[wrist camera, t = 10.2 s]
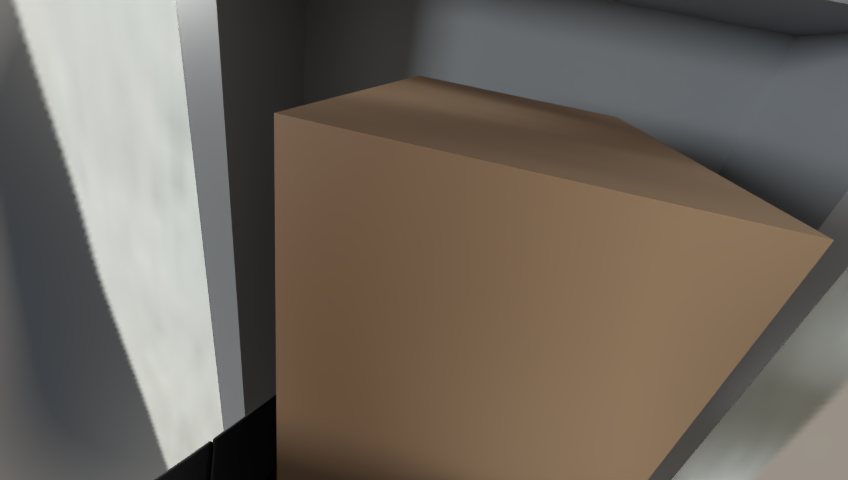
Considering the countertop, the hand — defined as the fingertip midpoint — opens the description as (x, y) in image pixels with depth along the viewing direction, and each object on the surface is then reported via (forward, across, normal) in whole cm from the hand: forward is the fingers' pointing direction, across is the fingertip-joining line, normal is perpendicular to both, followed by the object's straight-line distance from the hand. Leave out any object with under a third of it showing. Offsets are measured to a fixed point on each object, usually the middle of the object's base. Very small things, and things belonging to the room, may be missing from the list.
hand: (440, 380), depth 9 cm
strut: (+1, 0, 0) cm, 1 cm away
